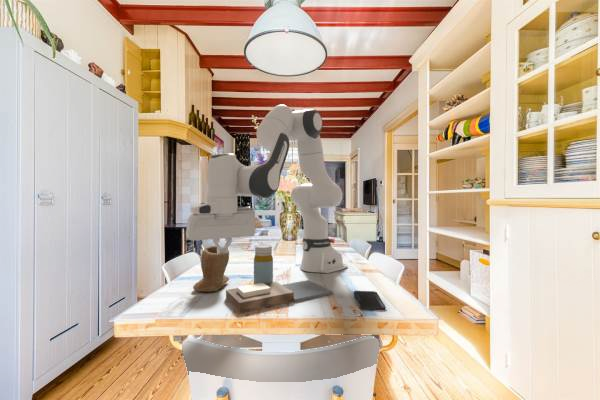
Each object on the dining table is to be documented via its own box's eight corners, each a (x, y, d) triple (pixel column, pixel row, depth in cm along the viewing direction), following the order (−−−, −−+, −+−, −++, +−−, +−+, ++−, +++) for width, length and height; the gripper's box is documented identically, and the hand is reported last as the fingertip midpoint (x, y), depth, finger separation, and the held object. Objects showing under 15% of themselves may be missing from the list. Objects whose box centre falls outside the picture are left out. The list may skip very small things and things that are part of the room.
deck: (275, 289, 105) (275, 281, 105) (293, 301, 94) (293, 292, 94) (225, 299, 96) (225, 290, 96) (239, 313, 85) (239, 302, 85)
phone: (376, 291, 102) (386, 308, 87) (376, 294, 102) (386, 312, 87) (353, 290, 102) (359, 307, 88) (353, 293, 102) (359, 311, 88)
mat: (308, 282, 114) (308, 280, 114) (332, 294, 101) (332, 291, 101) (274, 289, 106) (274, 286, 106) (295, 302, 93) (295, 299, 93)
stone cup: (221, 295, 99) (221, 251, 99) (188, 293, 101) (188, 250, 101) (237, 281, 114) (237, 243, 114) (208, 280, 116) (208, 242, 116)
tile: (262, 287, 99) (262, 282, 99) (270, 292, 94) (270, 287, 94) (236, 291, 94) (236, 287, 94) (243, 297, 89) (243, 292, 89)
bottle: (250, 286, 109) (250, 246, 109) (264, 282, 114) (264, 243, 114) (262, 290, 104) (262, 248, 104) (276, 286, 109) (276, 246, 109)
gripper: (251, 206, 96) (251, 248, 96) (185, 207, 85) (185, 254, 86) (258, 206, 91) (258, 251, 91) (189, 208, 80) (189, 258, 80)
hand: (222, 253), depth 88 cm, fingers closed
